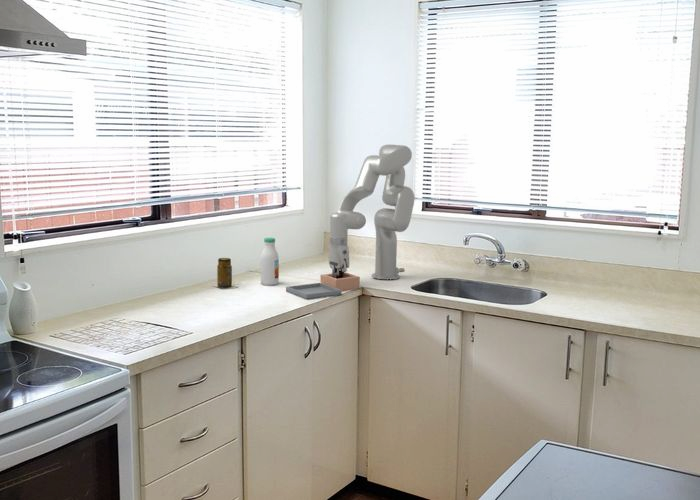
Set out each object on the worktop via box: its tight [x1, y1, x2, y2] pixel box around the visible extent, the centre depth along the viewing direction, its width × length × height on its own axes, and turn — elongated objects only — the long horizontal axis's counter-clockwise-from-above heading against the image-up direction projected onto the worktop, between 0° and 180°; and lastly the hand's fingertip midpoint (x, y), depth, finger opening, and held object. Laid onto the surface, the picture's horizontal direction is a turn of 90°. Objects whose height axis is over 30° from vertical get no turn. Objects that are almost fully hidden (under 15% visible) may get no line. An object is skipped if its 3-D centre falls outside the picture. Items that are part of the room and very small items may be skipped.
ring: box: [320, 271, 361, 292], centre depth 325 cm, size 12×12×5 cm
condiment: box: [212, 257, 237, 290], centre depth 322 cm, size 7×8×12 cm
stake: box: [330, 261, 338, 278], centre depth 323 cm, size 1×5×11 cm, turn 34°
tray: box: [285, 282, 342, 300], centre depth 313 cm, size 17×17×2 cm
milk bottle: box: [260, 237, 280, 286], centre depth 329 cm, size 8×8×20 cm
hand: (338, 283), depth 331 cm, fingers closed on ring, 1 cm apart
